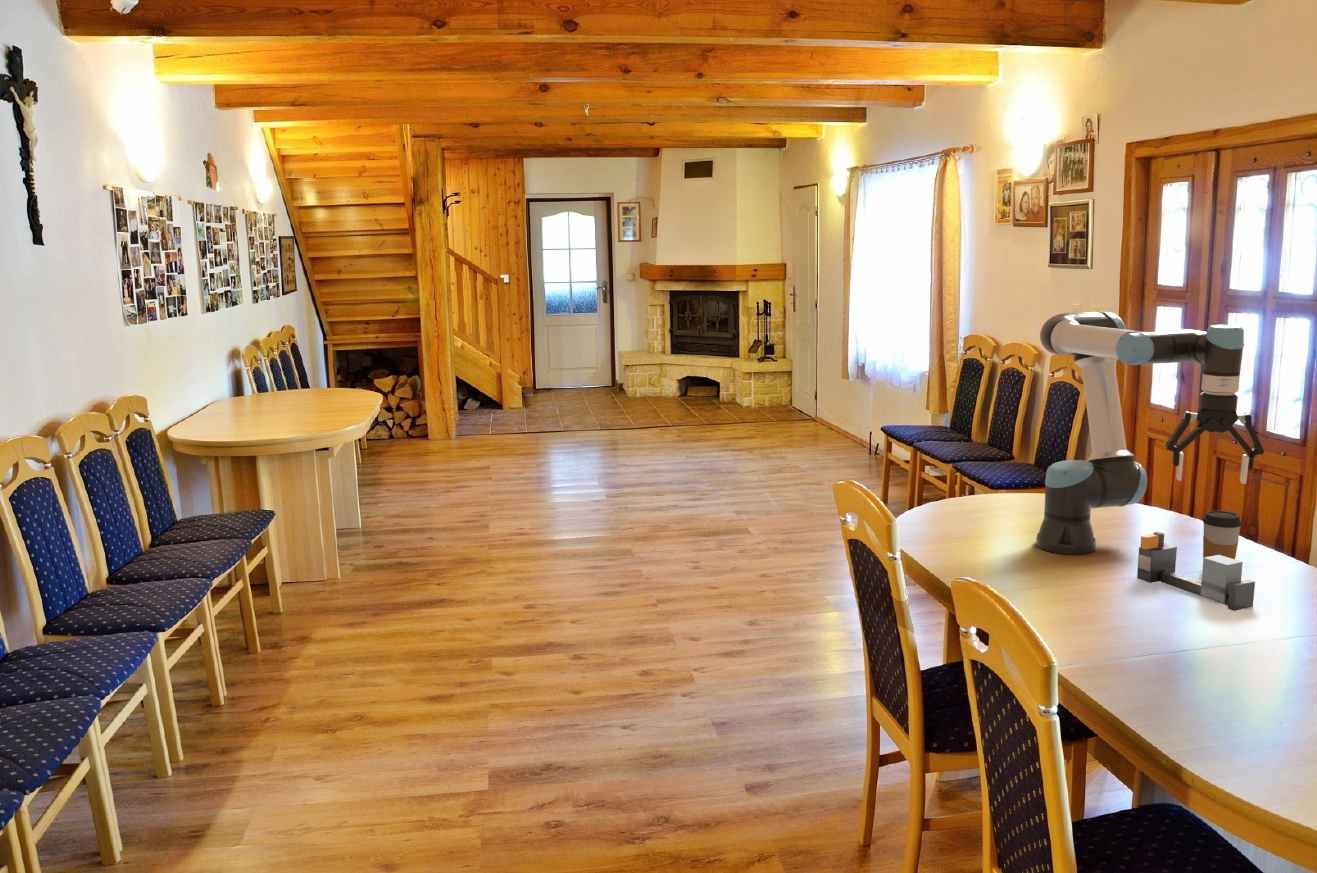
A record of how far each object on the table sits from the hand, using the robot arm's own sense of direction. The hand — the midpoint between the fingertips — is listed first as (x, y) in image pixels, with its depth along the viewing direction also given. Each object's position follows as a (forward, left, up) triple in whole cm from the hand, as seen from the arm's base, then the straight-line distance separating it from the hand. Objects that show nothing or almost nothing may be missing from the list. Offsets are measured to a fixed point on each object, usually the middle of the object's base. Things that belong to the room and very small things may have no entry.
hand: (1210, 481), depth 233 cm
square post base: (+15, -6, -26) cm, 30 cm away
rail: (+4, -6, -26) cm, 27 cm away
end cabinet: (-8, -6, -26) cm, 28 cm away
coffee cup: (-5, +11, -26) cm, 28 cm away
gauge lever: (-8, -8, -17) cm, 21 cm away
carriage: (+9, -6, -26) cm, 28 cm away
